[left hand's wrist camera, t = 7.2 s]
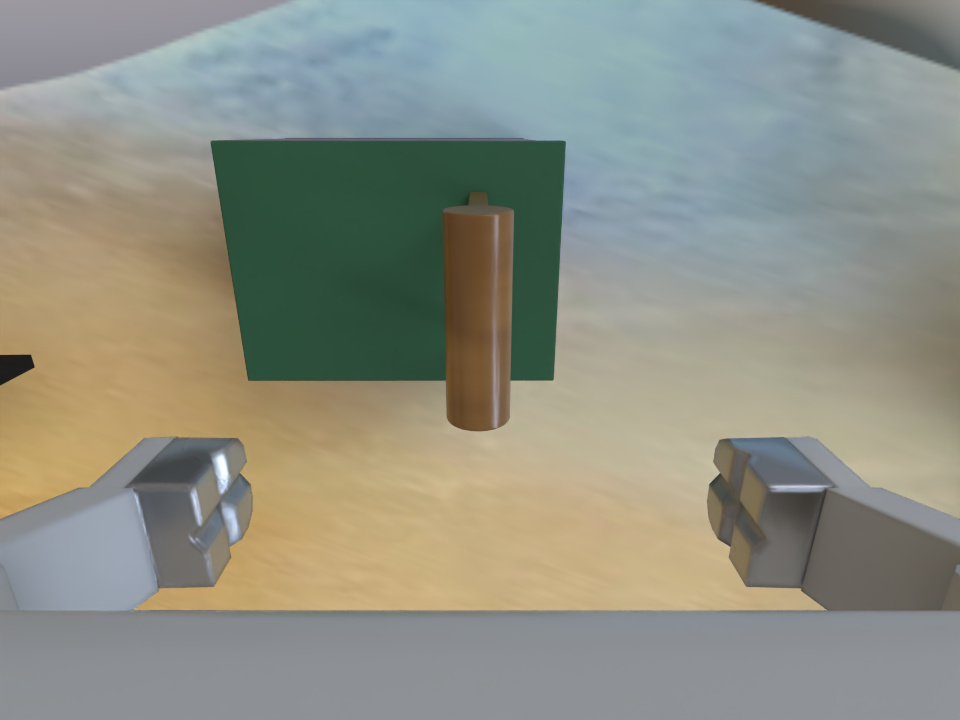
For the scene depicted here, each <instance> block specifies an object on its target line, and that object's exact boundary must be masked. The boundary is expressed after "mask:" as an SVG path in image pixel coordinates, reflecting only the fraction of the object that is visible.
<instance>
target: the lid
mask: <svg viewBox="0 0 960 720" xmlns="http://www.w3.org/2000/svg"><path fill="white" fill-rule="evenodd" d="M565 146H566V142H565V141H211V147H212V154H213V160H214V166H215V173H216V179H217V185H218V192H219V198H220V204H221V211H222V217H223V223H224V230H225V236H226V242H227V249H228V255H229V261H230V268H231V274H232V281H233V287H234V293H235V300H236V306H237V312H238V319H239V325H240V331H241V338H242V344H243V350H244V357H245V363H246V369H247V376H248V380H249V381H441V380H446V404H447V419H448V421H449V422H450V423H451V424H452V425H453V426H455V427H457V428H460V429H464V430H469V431H488V430H493V429H496V428H499V427H501V426H503V425H504V424H506V423H507V422H508V420H509V417H510V380H554V362H555V342H556V323H557V303H558V283H559V264H560V244H561V224H562V205H563V185H564V165H565Z"/></svg>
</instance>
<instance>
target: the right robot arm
mask: <svg viewBox="0 0 960 720" xmlns="http://www.w3.org/2000/svg"><path fill="white" fill-rule="evenodd" d="M32 368H34V363H33V360H32V357H31V355H0V385H2V384H4V383H6V382H8V381H9V380H11V379H13V378H15V377H17V376H19V375H21V374H23V373H25V372H27V371H29V370H30V369H32Z"/></svg>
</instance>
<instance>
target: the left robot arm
mask: <svg viewBox="0 0 960 720" xmlns="http://www.w3.org/2000/svg"><path fill="white" fill-rule="evenodd" d="M246 462H247V460H246V455H245V450H244V445H243V444H242V443H241V441H240V440H239V439H238V438H188V437H181V438H179V437H152V438H144V439H143V440H142V441H141V442H139V443H138V444H137V445H136V446H135V447H134V448H133V449H132V450H131V451H129V452H128V453H127V454H126V455H125V456H124V457H123V458H122V459H120V460H119V461H118V462H117V463H116V464H115V465H114V466H113V467H111V468H110V469H109V470H108V471H107V472H106V473H105V474H104V475H103V476H101V477H100V478H99V479H98V480H97V481H96V482H95V483H94V484H92V485H91V486H90V487H89V488H77V489H75V490H72V491H70V492H67V493H65V494H62V495H60V496H57V497H55V498H52V499H50V500H47V501H45V502H42V503H40V504H37V505H35V506H32V507H30V508H27V509H24V510H22V511H19V512H17V513H14V514H12V515H9V516H7V517H4V518H2V519H0V720H960V519H958V518H955V517H953V516H950V515H948V514H945V513H943V512H940V511H938V510H935V509H933V508H930V507H928V506H925V505H923V504H920V503H918V502H915V501H913V500H910V499H908V498H905V497H903V496H900V495H898V494H895V493H893V492H890V491H888V490H885V489H883V488H871V487H870V486H869V485H868V484H866V483H865V482H864V481H863V480H862V479H861V478H860V477H859V476H858V475H856V474H855V473H854V472H853V471H852V470H851V469H850V468H849V467H847V466H846V465H845V464H844V463H843V462H842V461H841V460H840V459H839V458H837V457H836V456H835V455H834V454H833V453H832V452H831V451H830V450H829V449H827V448H826V447H825V446H824V445H823V444H822V443H821V442H820V441H818V440H817V439H815V438H812V437H788V438H784V437H772V438H730V439H722V440H719V442H718V444H717V446H716V449H715V454H714V460H713V462H714V464H715V466H716V467H717V469H718V470H719V472H720V474H719V475H718V476H717V477H716V478H715V479H714V480H713V481H712V482H711V483H710V484H709V490H708V498H707V506H708V517H709V520H710V523H711V527H712V529H713V531H714V533H715V535H716V536H717V538H718V539H719V540H720V541H722V542H724V543H725V544H727V545H728V546H730V547H731V548H730V553H729V559H730V560H731V562H732V564H733V565H734V567H735V569H736V570H737V572H738V574H739V575H740V577H741V579H742V580H743V582H744V584H745V585H746V587H774V588H802V589H801V591H802V592H804V593H805V594H806V595H808V596H809V597H810V598H812V599H813V600H814V601H816V602H817V603H819V604H820V605H821V606H823V607H824V608H825V609H827V610H828V611H635V610H634V611H633V610H628V611H627V610H626V611H625V610H624V611H623V610H134V609H135V608H136V607H138V606H139V605H140V604H142V603H143V602H144V601H146V600H147V599H148V598H150V597H151V596H152V595H154V594H155V593H157V592H158V591H159V589H158V588H185V587H214V586H215V584H216V582H217V580H218V579H219V577H220V575H221V574H222V572H223V570H224V569H225V567H226V565H227V564H228V562H229V560H230V559H231V553H230V548H229V547H230V546H232V545H233V544H235V543H236V542H238V541H240V540H241V539H242V538H243V536H244V535H245V533H246V531H247V529H248V527H249V523H250V519H251V515H252V509H253V496H252V490H251V484H250V483H249V482H248V481H247V480H246V479H245V478H244V477H243V476H242V475H241V474H240V472H241V470H242V469H243V467H244V466H245V464H246Z"/></svg>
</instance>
